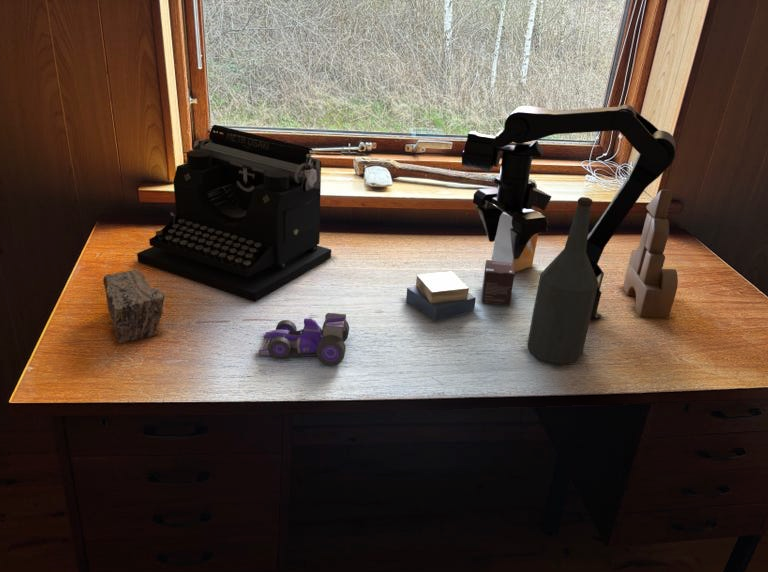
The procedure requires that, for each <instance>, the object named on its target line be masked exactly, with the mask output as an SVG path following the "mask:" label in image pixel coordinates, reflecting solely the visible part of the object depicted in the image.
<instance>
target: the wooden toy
mask: <svg viewBox="0 0 768 572" xmlns="http://www.w3.org/2000/svg"><path fill="white" fill-rule="evenodd" d="M673 195H674V190H672V189H661V190H659V191H658V192H657V194H656V195H655V196H654V197H653V198H652V199H651V200H650V201H649V202H648V204H647V205H646V206H645V209H646V210H647V211H648V212H647V213H646V217H645V220H644V224H643V228H642V232H641V236H640V240H639V244H638V246H637V248H636V249H632V250H631V252H630V257H629V261H628V264H627V267H626V273H625V277H624V280H623V284H622V289H623V291H624V293H625V294H626V295H627V296H635V307H634V309H635V311H636V313H637V315H638V316H639V317H640V318H666V319H667V318H668V319H669V318H670V315H671V311H672V308H673V304H674V301H675V298H676V295H677V291H678V284H679V277H678V271H677V269H675V268H674V269H673V268H663V267H664V265H665V260H666V255H665V254H664V252H665V250H666V245H667V242H668V238H669V235H670V222H669V219H668V218H667V217H668V213H669V211H670V206H671V203H672V199H673Z"/></svg>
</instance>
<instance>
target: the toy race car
mask: <svg viewBox="0 0 768 572" xmlns="http://www.w3.org/2000/svg"><path fill="white" fill-rule="evenodd" d="M324 318H325V319H324V322H323V323H322V327H321V326H320V325H319V324H318V323H317V321H316V320H315V319H313V318H306V317H305V318H304V320H303V325H304V326H303V328H302V329H301V328H300V329H299V330H298V329H297V326H296V324H295V323H294V322H293V321H292V320H289V319H283V320H280V321H279V322H278V323H277V324H276V327H275V329H274V330H271V331H266V332H265V333H264V334H263V339H264V340H265V341H264V344H263V346H262V349H258V355H259V356H267V357H270V356H272V357H273V358H275V359H280V360H281V359H282V360H283V359H285V358H287V357H288V356H289V357H316V358H317V359H318V360H319V361H320V362H321V363H322V364H324V365H327V366H336V365H339V364H340V363H342V361H343V360H344V359H345V354H346V344H345V342H346V340H347V339H348V338H349V333H350V325H349V322H348V320H347V314H346V313H334V312H327V313H326V314H325V315H324Z"/></svg>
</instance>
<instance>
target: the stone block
mask: <svg viewBox="0 0 768 572" xmlns="http://www.w3.org/2000/svg"><path fill="white" fill-rule="evenodd" d="M102 282H103V286H104V289H105V296H106V305H107V310H108V313H109V316H110V319H111V322H112V325H113V330H114V333H115V336H116V339H117V341H118V343H119V344H124V343H129V342H133V341H137V340H142V339H146V338H151V337H155V336H157V335H158V329H157V326H159V324H160V322H161V318H162V315H163V312H164V311H163V308H164V302H165V298H166V296H165V293H164V292H162V290H160V289H158V288H154V287H153V288H152V287H151V285H150V284H149V283H148V279H147V278H146V277H145V276H144V274H142V273H141V271H140V269H132V270H125V271H119V272H113V273H109V274H105V275H104V276H103V281H102Z"/></svg>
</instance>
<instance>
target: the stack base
mask: <svg viewBox="0 0 768 572" xmlns="http://www.w3.org/2000/svg"><path fill="white" fill-rule="evenodd" d="M476 299H477V298H476V297H475V296H474V295H472V294H471V293H469V292H468V299H465V300H457V301H448V302H439V303H430V302H429V301H428V299H427V298H426V297H425V296H424V295H423V294H422V292H421V291H420V290H419V289H418V288H417V287H416V285H413V286H409V287H406V297H405V301H406V302H407V303H408V304H410V305H411V306H413V307H414V308H416V309H417V310H418V311H420V312H421V313H423V314H424V315H425V316H427V317H428V318H430V319H431V320H433V321H434V322H438V321H442V320H445V319H451V318H453V317H457V316H459V315H463V314H467V313H470V312H473V311H475V307H476Z"/></svg>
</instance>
